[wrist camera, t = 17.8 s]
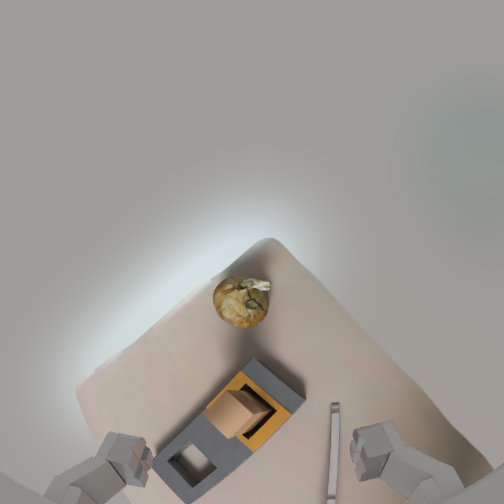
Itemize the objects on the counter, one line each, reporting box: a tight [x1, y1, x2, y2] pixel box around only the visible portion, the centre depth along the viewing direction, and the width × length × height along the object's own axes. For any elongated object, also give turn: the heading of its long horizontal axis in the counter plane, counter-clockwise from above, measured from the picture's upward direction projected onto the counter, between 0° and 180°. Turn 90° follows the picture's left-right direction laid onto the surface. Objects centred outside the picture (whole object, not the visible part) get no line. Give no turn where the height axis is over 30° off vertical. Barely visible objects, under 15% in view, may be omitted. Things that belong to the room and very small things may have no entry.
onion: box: [213, 277, 271, 328], centre depth 39 cm, size 8×8×8 cm
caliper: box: [327, 404, 339, 504], centre depth 25 cm, size 20×1×6 cm, turn 179°
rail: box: [152, 358, 306, 504], centre depth 32 cm, size 9×24×3 cm, turn 138°
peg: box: [203, 390, 273, 439], centre depth 30 cm, size 4×4×10 cm
